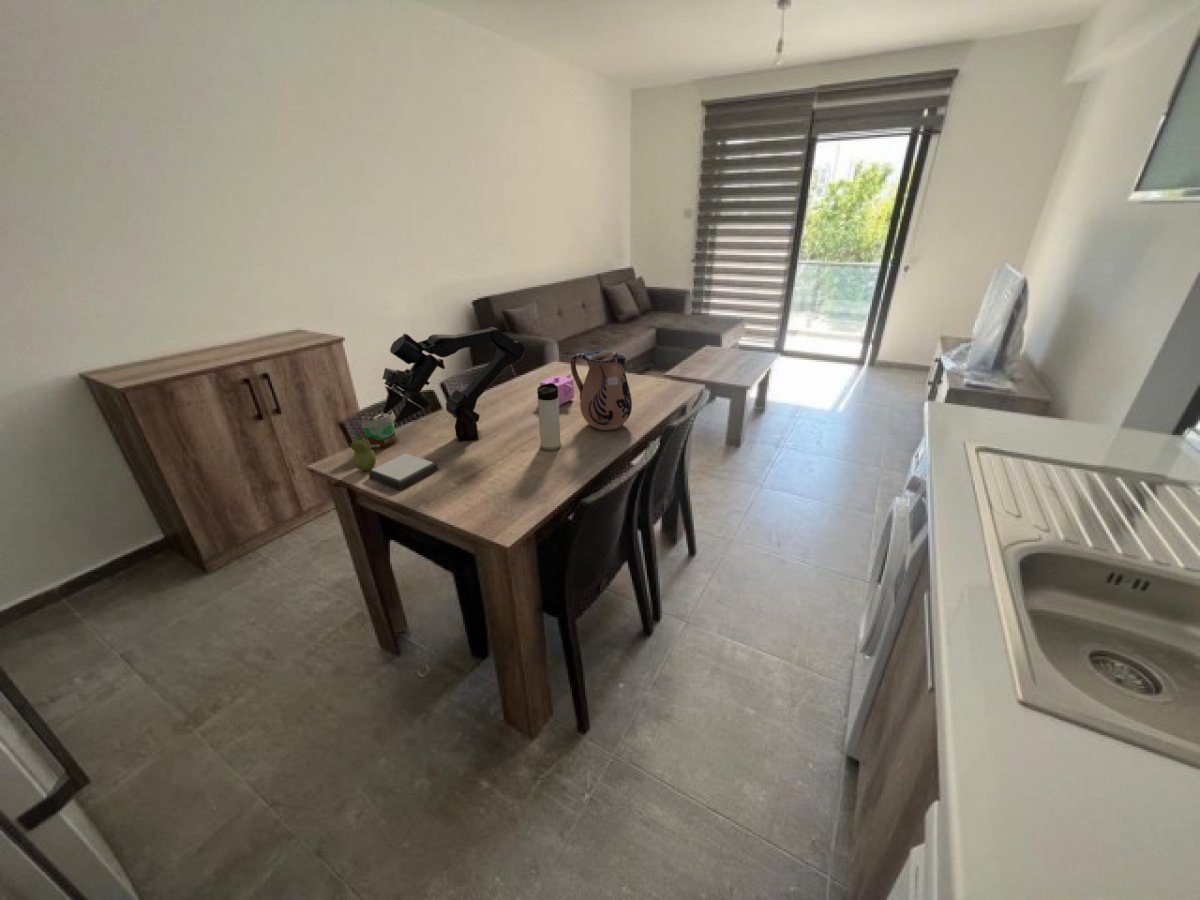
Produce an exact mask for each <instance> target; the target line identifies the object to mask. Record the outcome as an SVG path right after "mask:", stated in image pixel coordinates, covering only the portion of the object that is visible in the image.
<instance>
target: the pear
mask: <svg viewBox="0 0 1200 900" xmlns="http://www.w3.org/2000/svg"><path fill="white" fill-rule="evenodd" d="M350 448H351V450H353V451H354V455H353V463H354V466H355V468H357V469H358V470H359V471H361V472H366V471H368V472H369V471H371V470H372V469H374V468H375V465H376V460H377V459H376V454H375V453H374V451H373V449H371V447H370V444H369V441H368V439H366V438H365V437H363V436H360V437H355V438H354V440H353V441H352V442H351V443H350Z"/></svg>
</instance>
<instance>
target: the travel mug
mask: <svg viewBox="0 0 1200 900" xmlns="http://www.w3.org/2000/svg"><path fill="white" fill-rule="evenodd" d="M536 391H537V408H538V409H537V410H538V411H537V412H538V422H539V423H538V424H539V425H538V426H539V440H540V448H541V449H542V450H545V451H551V452H552V451H557V450H558V449H560V448H561V445H562V444H561V425H560V422H561V421H560V406H559V399H558V387H557V386H556V385H555V384H554V383H549V384H545V385H541V386H540V385H539V386H538V387H537V389H536Z"/></svg>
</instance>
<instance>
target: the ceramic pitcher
mask: <svg viewBox="0 0 1200 900" xmlns="http://www.w3.org/2000/svg"><path fill="white" fill-rule="evenodd" d="M580 359H582V361H585V362H586V363H587V366H588V371H587V374H586V377H585V379H584V381H583V382H582V379H581V378H580V375H579V374H578V371H577V365H576V364H577V363H576V362H577V361H578V360H580ZM626 359H627V358H626V356H625V355H622V354H619V351H616V350H596V351H592V352H578V353H576V354H574V355H573V357H572V358H571V360H570V371H571V374H572V375H571V376H572V377H573V380H574V382H575V385H576V386H577V389H578V392H579V400H580V401H579V404H580V405H579V409H580V412H581V415H582V417H583V419H584V420H585V421H586V423H588V425H589V426H591V427H592V428H595V429H597V430H600V431H612V430H615V429H618V428H620V427H622V426H623V425H624V424H625V423H626V422H627V421H628V420H629V418H630V416H631V414H632V410H633V409H632V408H633V401H632V400H633V399H632V395H631V389H630V386H629V383H628V378H627V375H626V370H625V369H626V368H625V364H626Z"/></svg>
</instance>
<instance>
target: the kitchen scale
mask: <svg viewBox="0 0 1200 900" xmlns="http://www.w3.org/2000/svg"><path fill="white" fill-rule="evenodd" d="M438 470H439V469H438V464H437V462H433V461H430V460H427V459H424V458H421V457H418V456H415V455H412V454H410V453H403V454H401V455H399V456H397V457H394V458H393V459H390V460H389V461H387V462H384V463H382V464H380V465H378V466H376V467H373V468H372V469H370V470H368V472H367V473H368V476H369V479H371V480H374V481H376V482H379V483H382V484H384V485H387V486H389V487H392V488H394V489H397V490H400V491H402V490H404V489H406V488H407V487H409V486H411V485H414V483H415V484H416V482H419V481H420V480H422V479H424V478H425V477H427V476H430V475H431V474H433V473H434V472H436V471H438Z"/></svg>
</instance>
